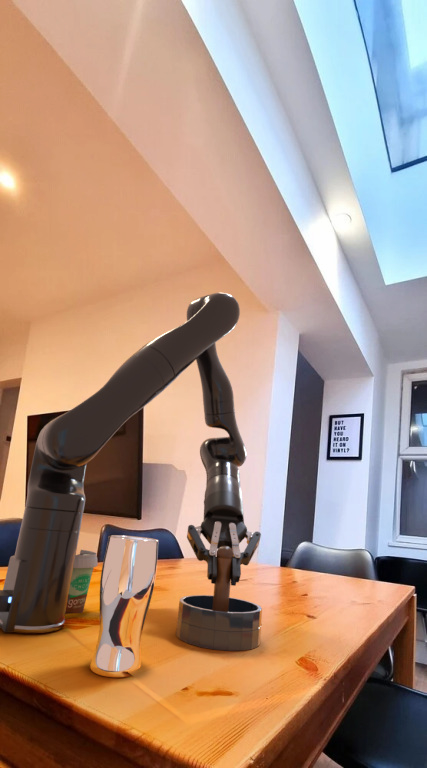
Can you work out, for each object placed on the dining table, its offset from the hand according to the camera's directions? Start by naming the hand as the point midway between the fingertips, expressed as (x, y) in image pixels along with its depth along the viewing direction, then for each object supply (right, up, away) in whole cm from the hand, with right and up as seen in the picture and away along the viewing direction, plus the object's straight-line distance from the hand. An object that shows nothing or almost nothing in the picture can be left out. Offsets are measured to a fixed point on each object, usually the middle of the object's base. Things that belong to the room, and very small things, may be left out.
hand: (224, 580), depth 67 cm
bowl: (-1, -9, -1) cm, 9 cm away
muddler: (-1, -9, -1) cm, 9 cm away
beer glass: (-14, -3, -16) cm, 21 cm away
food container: (-27, -9, +7) cm, 30 cm away
